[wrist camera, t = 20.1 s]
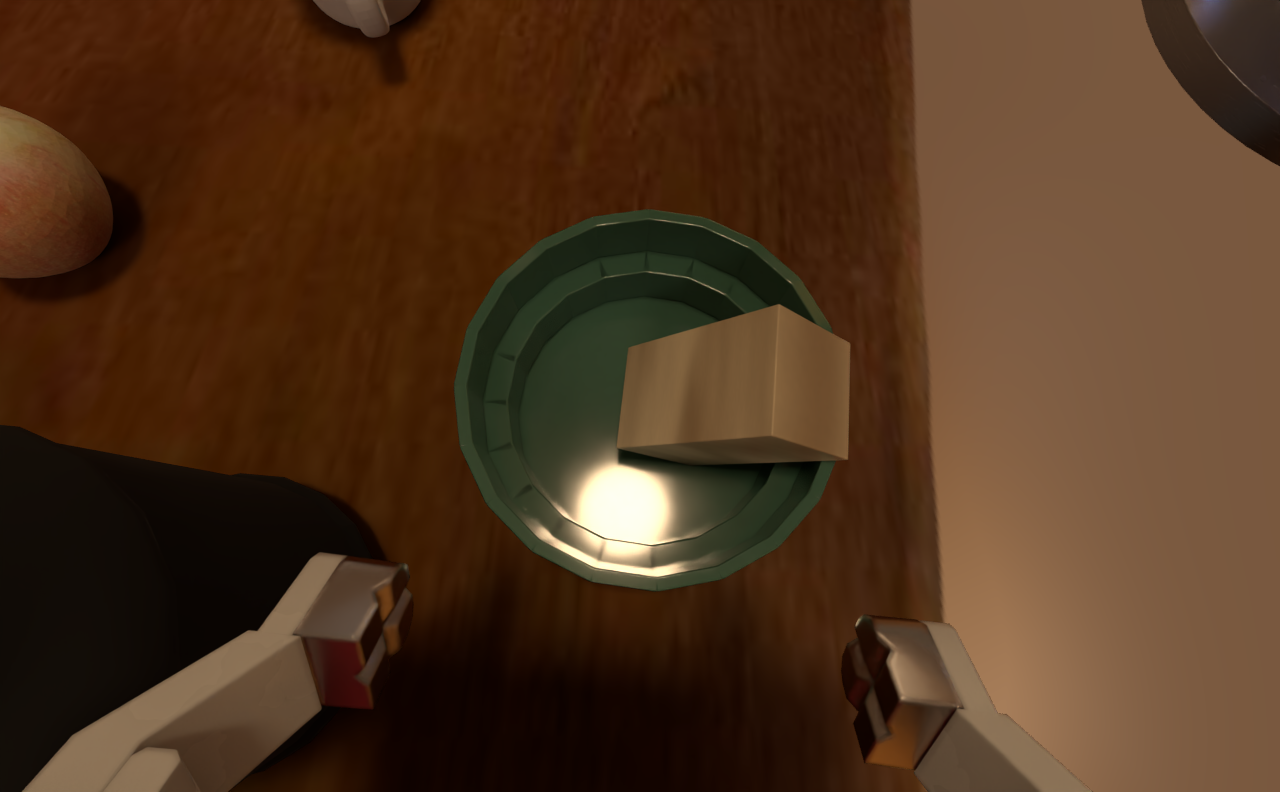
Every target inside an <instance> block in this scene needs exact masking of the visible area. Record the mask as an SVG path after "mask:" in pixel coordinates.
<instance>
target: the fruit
mask: <svg viewBox="0 0 1280 792" xmlns="http://www.w3.org/2000/svg"><path fill="white" fill-rule="evenodd" d="M112 228H113V210H112V204H111V200H110V196H109V194H108V191H107V189H106V186H105V184H104V182H103V180H102V178H101V176H100V175H99V173H98V171H97V170H96V169H95V167H94V166H93V165H92V163H91V162H90V161H89V160H88V158H87V157H86V156H85V155H84V154H83V153H82V151H81V150H80V149H79V148H77V147H76V146H75V145H74V144H73V143H72V142H71V141H69V140H68V139H67V138H65V137H64V136H63V135H61V134H60V133H58V132H57V131H55V130H54V129H52V128H50V127H49V126H47V125H45V124H43V123H41V122H40V121H38V120H36V119H34V118H31V117H29V116H27V115H24V114H22V113H20V112H17V111H15V110H12V109H9V108H5V107H1V106H0V277H1V278H39V277H45V276H51V275H57V274H62V273H65V272H69V271H72V270H75V269H77V268H80V267H82V266H84V265H86V264H88V263H90V262H91V261H93V260H94V259H95V258H96V257H98V256H99V255H100V254H101V252H102V251H103V250H104V249H105V247H106V246H107V244H108V242H109V240H110V238H111V234H112Z"/></svg>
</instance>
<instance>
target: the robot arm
mask: <svg viewBox="0 0 1280 792" xmlns="http://www.w3.org/2000/svg"><path fill="white" fill-rule="evenodd" d="M409 578H410V575H409V570H408V565H407V564H403V563H397V562H390V561H383V560H375V559H368V558H361V557H354V556H345V555H337V554H330V553H322V552H319V553H318V554H316V555H315V556H313V557H312V558H311V559H310V560H309V561H308V562H307V564H306V565H305V567H304V568H303V569H302V571H301V572H300V573H299V575H298V576H297V577H296V579H295V580H294V582H293V583H292V584H291V586H290V587H289V588H288V590H287V591H286V593H285V594H284V595H283V597H282V598H281V599H280V601H279V602H278V603H277V605H276V606H275V608H274V609H273V610H272V612H271V613H270V614H269V616H268V617H267V619H266V620H265V621H264V623H263V624H262V625H261V627H260V628H259V630H258V631H251V630H248V631H246V632H245V633H243V634H241V635H240V636H238V637H236V638H235V639H233V640H231V641H230V642H228V643H226V644H225V645H223V646H221V647H220V648H218V649H216V650H214V651H213V652H211V653H209V654H208V655H206V656H204V657H203V658H201V659H199V660H198V661H196V662H194V663H193V664H191V665H189V666H188V667H186V668H184V669H183V670H181V671H179V672H178V673H176V674H174V675H173V676H171V677H169V678H167V679H166V680H164V681H162V682H161V683H159V684H157V685H156V686H154V687H152V688H151V689H149V690H147V691H146V692H144V693H142V694H141V695H139V696H137V697H136V698H134V699H132V700H131V701H129V702H127V703H126V704H124V705H122V706H121V707H119V708H117V709H115V710H114V711H112V712H110V713H109V714H107V715H105V716H104V717H102V718H100V719H99V720H97V721H95V722H94V723H92V724H90V725H89V726H87V727H85V728H84V729H82V730H80V731H79V732H77V733H75V734H74V735H72V736H71V737H70V738H69V740H68V741H67V742H66V743H65V744H64V745H63V746H62V747H61V749H60V750H59V751H58V752H57V753H56V754H55V755H54V756H53V757H52V759H51V760H50V761H49V762H48V763H47V764H46V765H45V766H44V768H43V769H42V770H41V771H40V772H39V773H38V774H37V775H36V777H35V778H34V779H33V780H32V781H31V782H30V783H29V784H28V786H27V787H26V788H25V789H24V790H23V791H22V792H228V791H229V790H231V789H232V788H233V787H234V786H235V785H236V784H237V783H238V782H240V781H241V780H242V779H243V778H244V777H245V776H246V775H248V774H249V773H250V772H251V771H252V770H253V769H254V768H255V767H257V766H258V765H259V764H260V763H261V762H262V761H263V760H265V759H266V758H267V757H268V756H269V755H270V754H271V753H272V752H274V751H275V750H276V749H277V748H278V747H279V746H280V745H282V744H283V743H284V742H285V741H286V740H287V739H288V738H290V737H291V736H292V735H293V734H294V733H295V732H296V731H297V730H299V729H300V728H301V727H302V726H303V725H304V724H305V723H307V722H308V721H309V720H310V719H311V718H312V717H313V716H314V715H316V714H317V713H318V712H319V711H320V710H321V709H322V706H333V707H345V708H358V709H370V710H374V708H375V705H376V703H377V701H378V699H379V697H380V695H381V692H382V690H383V688H384V686H385V684H386V682H387V680H388V677H389V675H390V673H391V671H390V666H389V660H388V659H389V658H390V657H391V656H393V655H394V654H396V653H397V652H398V651H400V650H401V649H402V647H403V645H404V642H405V640H406V638H407V635H408V633H409V629H410V625H411V621H412V617H413V605H414V604H413V596H412V594H411V593H410V592H409V591H408V590H407V589H406V588H405V587H406V584H407V582H408V580H409ZM855 630H856V633H857V637H858V638H856V639H854V640H853V641H851V642H849V643H847V646H846V648H845V651H844V653H843V656H842V667H841V674H842V683H843V687H844V691H845V695H846V698H847V700H848V701H849V702H850V703H851V704H852V705H853V706H854V707H855V708H856V710H857V711H858V714H857V716H856V719H855V721H854V723H853V724H854V728H855V731H856V735H857V739H858V742H859V746H860V749H861V753H862V756H863V760H864V763H866V764H873V765H880V766H888V767H895V768H902V769H909V770H915V772H914V774H915V775H916V777H917V778H918V779H919V780H920V782H921V783H922V784H923V786H924V787H925V788H926V790H927V791H928V792H1093V791H1092V790H1090V789H1089V788H1088V787H1087V786H1086V785H1085V784H1084V783H1082V781H1080V780H1079V779H1078V778H1077V777H1076V776H1075V775H1074V774H1073V773H1072V772H1070V771H1069V770H1068V769H1067V768H1066V767H1065V766H1064V765H1063V764H1062V763H1060V762H1059V761H1058V760H1057V759H1056V758H1055V757H1054V756H1053V755H1051V754H1050V753H1049V752H1048V751H1047V750H1046V749H1045V748H1044V747H1043V746H1042V745H1040V744H1039V743H1038V742H1037V741H1036V740H1035V739H1034V738H1033V737H1031V736H1030V735H1029V734H1028V733H1027V732H1026V731H1025V730H1024V729H1023V728H1021V727H1020V726H1019V725H1018V724H1017V723H1016V722H1015V721H1014V720H1012V719H1011V718H1010V717H1009V716H1008V715H1007V714H1001V713H998V712H997V710H996V708H995V706H994V704H993V702H992V700H991V698H990V696H989V694H988V692H987V691H986V689H985V687H984V685H983V683H982V681H981V679H980V677H979V675H978V673H977V671H976V669H975V667H974V665H973V663H972V661H971V659H970V657H969V655H968V653H967V651H966V649H965V647H964V645H963V644H962V641H961V639H960V638H959V636H958V633H957V632H956V630H955V629H954V628H953V627H952V626H951V625H950V624H947V623H938V622H929V621H918V620H915V619H905V618H895V617H885V616H875V615H863V616H862V617H860V618H859V620H858V622H857V624H856V626H855Z"/></svg>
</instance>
